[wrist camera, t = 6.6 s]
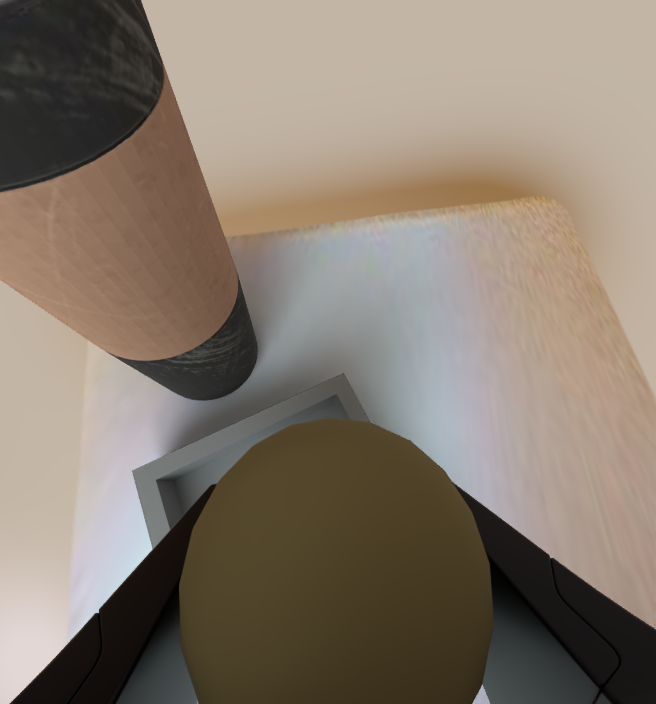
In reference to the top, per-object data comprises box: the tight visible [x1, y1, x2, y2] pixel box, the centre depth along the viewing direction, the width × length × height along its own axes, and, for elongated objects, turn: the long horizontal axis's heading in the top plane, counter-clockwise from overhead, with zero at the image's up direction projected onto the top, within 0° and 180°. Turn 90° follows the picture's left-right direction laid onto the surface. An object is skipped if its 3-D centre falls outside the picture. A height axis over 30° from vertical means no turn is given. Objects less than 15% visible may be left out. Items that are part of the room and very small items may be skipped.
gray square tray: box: [132, 373, 370, 704], centre depth 19 cm, size 13×13×4 cm
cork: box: [179, 417, 494, 704], centre depth 9 cm, size 6×6×11 cm
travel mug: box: [0, 0, 257, 400], centre depth 15 cm, size 8×8×20 cm
